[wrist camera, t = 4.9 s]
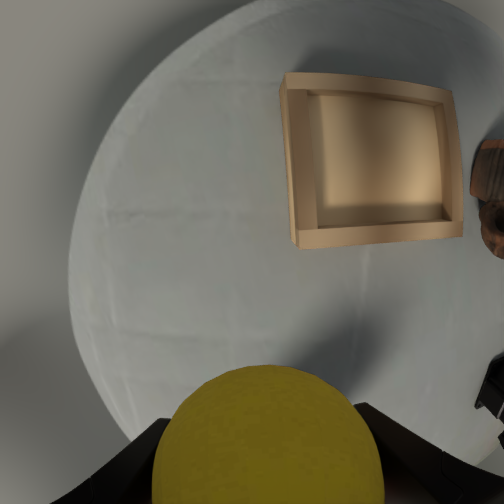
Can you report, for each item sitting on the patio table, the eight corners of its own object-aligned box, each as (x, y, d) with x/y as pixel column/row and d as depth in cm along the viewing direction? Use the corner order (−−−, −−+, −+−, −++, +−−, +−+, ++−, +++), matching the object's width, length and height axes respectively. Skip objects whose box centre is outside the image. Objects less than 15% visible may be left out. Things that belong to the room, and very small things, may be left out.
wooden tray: (426, 101, 17) (451, 91, 13) (436, 229, 19) (462, 236, 15) (279, 90, 17) (285, 72, 13) (290, 239, 19) (299, 249, 15)
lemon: (174, 422, 10) (130, 602, 2) (196, 300, 9) (93, 570, 1) (306, 443, 10) (342, 608, 3) (360, 334, 9) (492, 531, 1)
